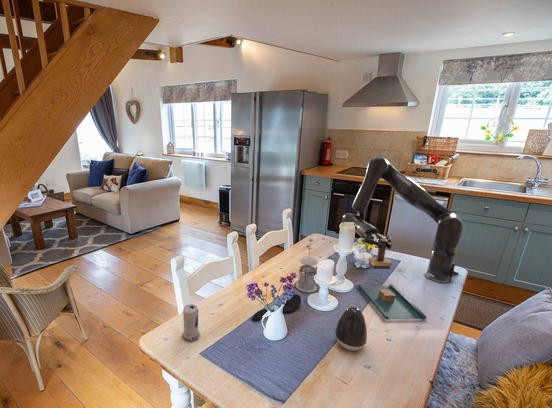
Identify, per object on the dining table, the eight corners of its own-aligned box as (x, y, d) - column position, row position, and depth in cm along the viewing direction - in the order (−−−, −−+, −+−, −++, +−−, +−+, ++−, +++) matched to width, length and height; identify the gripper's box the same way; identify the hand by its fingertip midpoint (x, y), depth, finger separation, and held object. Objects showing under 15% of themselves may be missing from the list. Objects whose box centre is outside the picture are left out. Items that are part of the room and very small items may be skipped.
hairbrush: (247, 308, 126) (292, 288, 137) (247, 316, 127) (291, 295, 138) (259, 320, 119) (306, 298, 130) (259, 328, 120) (305, 305, 132)
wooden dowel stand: (367, 263, 143) (371, 237, 139) (384, 263, 143) (389, 237, 139) (372, 269, 138) (377, 242, 134) (390, 269, 138) (395, 242, 134)
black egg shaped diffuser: (328, 343, 111) (332, 307, 106) (343, 331, 117) (348, 296, 112) (355, 360, 103) (361, 322, 99) (370, 346, 109) (376, 310, 105)
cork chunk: (378, 295, 137) (379, 289, 136) (388, 295, 137) (389, 289, 136) (383, 301, 133) (385, 295, 132) (394, 301, 133) (395, 295, 132)
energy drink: (200, 332, 116) (200, 305, 113) (195, 342, 111) (194, 314, 108) (187, 329, 118) (186, 302, 114) (181, 339, 113) (180, 311, 110)
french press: (318, 284, 148) (323, 236, 141) (314, 296, 138) (319, 246, 131) (298, 279, 153) (302, 232, 146) (292, 291, 143) (296, 241, 136)
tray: (357, 288, 145) (358, 283, 144) (391, 288, 145) (392, 283, 144) (384, 321, 122) (385, 316, 121) (425, 321, 122) (426, 316, 121)
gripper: (354, 224, 150) (371, 239, 133) (382, 224, 150) (404, 239, 133) (352, 239, 152) (369, 254, 135) (380, 239, 152) (401, 254, 135)
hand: (386, 246), depth 134 cm, fingers closed on wooden dowel stand, 3 cm apart
